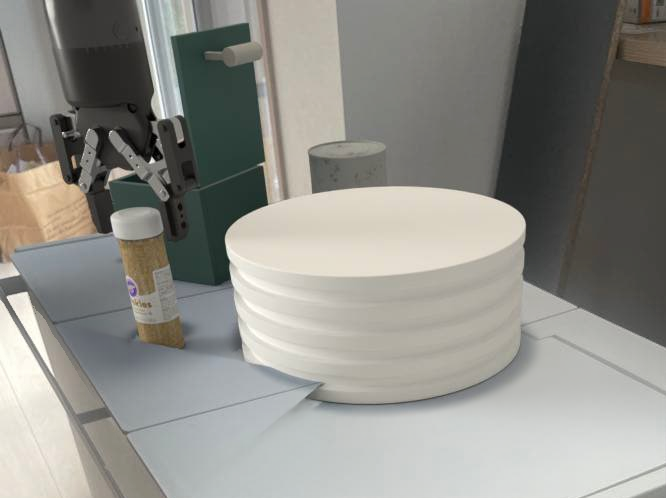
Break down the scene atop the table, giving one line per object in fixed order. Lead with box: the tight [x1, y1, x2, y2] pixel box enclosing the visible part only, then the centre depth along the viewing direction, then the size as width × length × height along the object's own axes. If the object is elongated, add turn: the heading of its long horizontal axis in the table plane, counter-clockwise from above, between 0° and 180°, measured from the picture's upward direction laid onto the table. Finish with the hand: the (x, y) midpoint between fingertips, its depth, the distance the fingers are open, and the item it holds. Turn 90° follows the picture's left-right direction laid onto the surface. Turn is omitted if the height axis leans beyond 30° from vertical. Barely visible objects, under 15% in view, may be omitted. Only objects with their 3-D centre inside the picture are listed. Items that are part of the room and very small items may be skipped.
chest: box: [107, 164, 269, 287], centre depth 104 cm, size 14×13×11 cm
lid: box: [169, 22, 266, 187], centre depth 93 cm, size 14×13×5 cm
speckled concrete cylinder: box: [307, 139, 388, 194], centre depth 105 cm, size 10×10×12 cm
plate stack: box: [225, 185, 527, 405], centre depth 82 cm, size 28×28×12 cm
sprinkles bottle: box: [111, 207, 186, 350], centre depth 82 cm, size 5×5×13 cm
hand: (142, 235), depth 79 cm, fingers open, 8 cm apart
